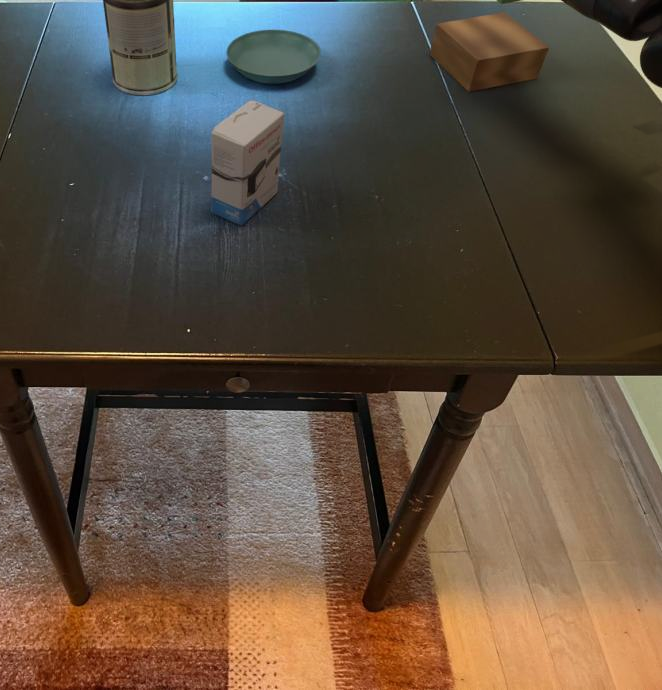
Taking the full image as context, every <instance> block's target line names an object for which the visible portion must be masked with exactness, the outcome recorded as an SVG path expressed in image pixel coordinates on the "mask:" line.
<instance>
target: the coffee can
mask: <svg viewBox="0 0 662 690" xmlns="http://www.w3.org/2000/svg"><path fill="white" fill-rule="evenodd" d="M102 4H103V13H104V19H105V20H104V21H105V29H106V34H107V42H108V49H109V50H108V51H109V58H110V67H111V74H112V83H113V85H114V87H116V89H118V90H119V91H121V92H122V93H125V94H128V95H133V96H151V95H157V94H161V93H163V92H166V91H167V90H170V89H171V88H173V86H174V85H176V83H177V82H178V69H177V66H178V65H177V48H176V29H175V11H174V10H175V9H174V8H175V6H174V0H102Z"/></svg>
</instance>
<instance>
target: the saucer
mask: <svg viewBox="0 0 662 690" xmlns="http://www.w3.org/2000/svg"><path fill="white" fill-rule="evenodd" d="M321 56H322V51H321V48H320V46H319V44H318V43H317V42H316V41H315V40H314V39H313V38H311V37H309V36H307V35H305V34H303V33H299V32H296V31H291V30H285V29H262V30H261V29H260V30H254V31H250V32H246V33H244V34H242V35H239V36H238V37H236V38H234V39H233V40H232V41H231V42H230V43H229V44H228V46H227V47H226V57H227V59H228V61H229V63H230V64H231V65H232V66H233V68H234V69H235V70H237V72H238V73H240V74H241V75H242V76H243V77H245V78H247V79H249V80H251V81H253V82H256V83H262V84H269V85H270V84H271V85H277V84H278V85H279V84H284V83H285V84H286V83H289V82H293V81H296V80H297V79H300V78H301V77H303V76H304V75H306V74H307V73H309V72H311V70H312V69H313V68H314V67H315V66H316V65H317V63H318V62H319V61H320V59H321Z"/></svg>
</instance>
